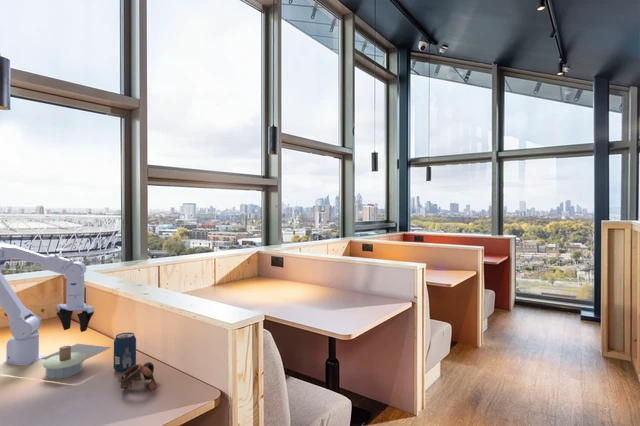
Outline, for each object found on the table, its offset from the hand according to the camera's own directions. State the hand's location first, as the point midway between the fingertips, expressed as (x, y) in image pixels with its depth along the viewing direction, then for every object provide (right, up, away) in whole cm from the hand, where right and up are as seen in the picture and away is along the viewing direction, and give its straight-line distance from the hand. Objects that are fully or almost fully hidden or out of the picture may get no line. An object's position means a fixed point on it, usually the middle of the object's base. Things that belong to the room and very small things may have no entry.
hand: (75, 330), depth 142 cm
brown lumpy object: (+36, -11, -23) cm, 44 cm away
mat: (-1, -10, +2) cm, 10 cm away
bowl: (+6, -10, -15) cm, 19 cm away
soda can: (+24, -11, -11) cm, 28 cm away
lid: (+6, -6, -14) cm, 17 cm away
